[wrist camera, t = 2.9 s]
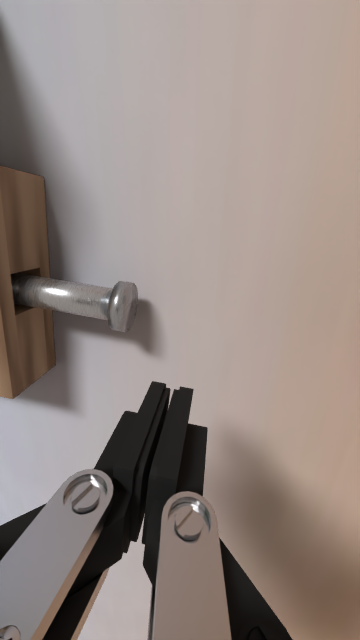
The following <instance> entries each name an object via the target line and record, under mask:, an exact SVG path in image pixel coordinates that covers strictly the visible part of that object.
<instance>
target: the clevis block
mask: <svg viewBox="0 0 360 640" xmlns="http://www.w3.org/2000/svg"><path fill="white" fill-rule="evenodd" d="M12 273H20V274H26V275H32V276H39V277H45V278H50V267H49V251H48V235H47V218H46V202H45V186H44V177H41V176H37V175H34V174H30V173H26V172H22V171H19V170H15V169H11V168H7V167H4V166H0V396H1V397H6V398H10V399H14V398H15V397H16V396H18V395H19V394H20V393H21V392H23V391H24V390H25V389H26V388H27V387H29V386H30V385H31V384H32V383H34V382H35V381H36V380H37V379H39V378H40V377H41V376H42V375H44V374H45V373H46V372H47V371H48V370H50V369H51V368H52V367H53V366H55V365H56V364H55V348H54V332H53V315H52V310H48V309H42V308H37V307H31V306H25V305H20V304H14V301H13V293H12V284H11V276H10V274H12Z"/></svg>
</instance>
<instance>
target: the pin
mask: <svg viewBox="0 0 360 640" xmlns="http://www.w3.org/2000/svg"><path fill="white" fill-rule="evenodd" d="M10 276H11V284H12V293H13V301H14V304H20V305H25V306H31V307H37V308H42V309H48V310H53V311H59V312H65V313H70V314H76V315H81V316H87V317H93V318H98V319H104V320H108V324H109V327H110V328H111V329H112V330H116V331H121V332H127V331H128V330H129V329H130V328H131V326H132V324H133V321H134V319H135V315H136V310H137V303H138V292H137V287H136V285H135V284H134V283H130V282H123V281H119V282H117V283H116V285H115V286H114V288H113V289H112V288H106V287H100V286H94V285H87V284H81V283H75V282H69V281H63V280H57V279H51V278H45V277H39V276H32V275H26V274H20V273H12V274H10Z"/></svg>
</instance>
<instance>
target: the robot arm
mask: <svg viewBox="0 0 360 640" xmlns="http://www.w3.org/2000/svg"><path fill="white" fill-rule="evenodd" d="M192 395H193V389H190V388H185V387H180V389H179V390H176V389H174V392H173V395H172V398H171V402H170V405H169V408H168V404H169V397H170V388H166V384H164V383H159V382H154V381H153V382H152V383H151V385H150V387H149V389H148V392H147V394H146V396H145V398H144V400H143V403H142V405H141V407H140V409H139V411H138V413H135V412H130V411H125V412H124V414H123V415H122V417H121V419H120V421H119V423H118V425H117V426H116V428H115V430H114V432H113V434H112V436H111V438H110V439H109V441H108V443H107V445H106V447H105V449H104V451H103V453H102V454H101V456H100V458H99V460H98V462H97V464H96V466H95V468H94V469H87V470H83V471H80V472H77V473H75V474H74V475H72V476H70V477H69V478H68V479H67V480H66V481H65V482H64V483H63V484H62V485H61V487H60V488H59V489H58V490H57V492H56V493H55V494H54V495H53V497H52V498H51V499H50V500H49V501H48V503H46V504H44V505H42V506H40V507H38V508H36V509H34V510H32V511H30V512H28V513H26V514H23V515H21V516H19V517H17V518H15V519H13V520H11V521H9V522H7V523H5V524H3V525H1V526H0V640H77V639H78V637H79V634H80V632H81V630H82V628H83V626H84V624H85V621H86V619H87V617H88V615H89V613H90V611H91V609H92V606H93V604H94V602H95V600H96V598H97V596H98V593H99V591H100V589H101V587H102V585H103V583H104V580H105V578H106V576H107V573H108V570H109V567H110V566H112V565H113V564H115V563H116V562H118V561H119V560H120V559H121V558H122V554H123V552H124V553H127V552H128V548H129V545H130V541H134V542H137V539H138V536H139V532H140V529H141V525H142V521H143V518H144V526H143V536H142V544H145V550H144V559H143V566H144V568H145V571H146V573H147V575H148V577H149V579H150V581H151V583H152V588H151V601H150V613H149V625H148V638H147V640H293V639H291V637H290V635H289V633H288V632H287V630H286V628H285V627H284V626H283V624H282V623H281V622H280V620H279V619H278V617H277V616H276V615H275V613H274V612H273V611H272V609H271V608H270V606H269V605H268V604H267V602H266V601H265V600H264V598H263V597H262V595H261V594H260V593H259V591H258V590H257V589H256V587H255V586H254V584H253V583H252V582H251V580H250V579H249V578H248V576H247V575H246V573H245V572H244V571H243V569H242V568H241V567H240V565H239V564H238V562H237V561H236V560H235V558H234V557H233V556H232V554H231V553H230V551H229V550H228V549H227V547H226V546H225V545H224V543H223V542H222V540H221V539H220V538H219V533H218V524H217V519H216V515H215V511H214V510H213V508H212V506H211V504H210V503H209V502H208V501H207V500H206V499H205V498H204V497H203V484H204V470H205V457H206V443H207V427H202V426H198V425H193V424H188V420H189V414H190V407H191V401H192ZM144 514H145V517H144Z"/></svg>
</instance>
